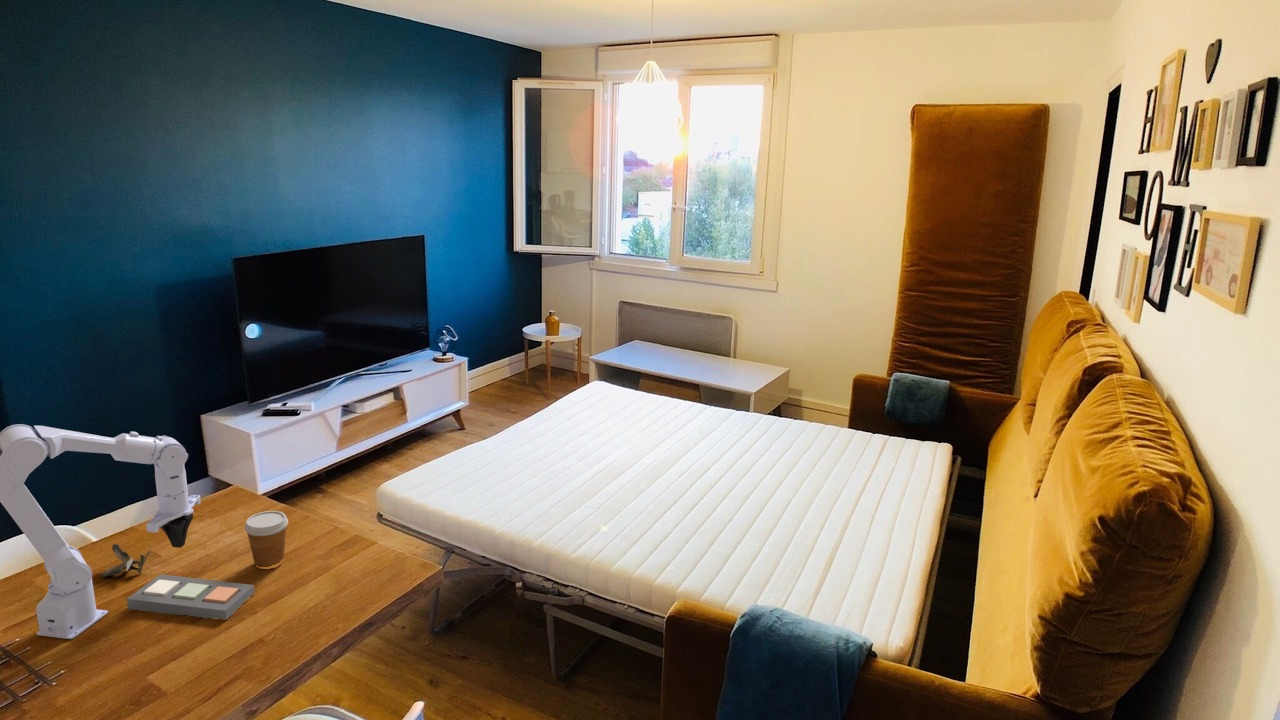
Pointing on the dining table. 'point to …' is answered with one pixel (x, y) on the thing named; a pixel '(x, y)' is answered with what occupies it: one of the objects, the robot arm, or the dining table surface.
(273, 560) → the disposable coffee cup
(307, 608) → the dining table surface
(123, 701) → the dining table surface
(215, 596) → the terracotta key
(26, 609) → the dining table surface
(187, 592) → the sage key
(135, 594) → the key frame
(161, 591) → the ivory key
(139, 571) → the eagle figurine
